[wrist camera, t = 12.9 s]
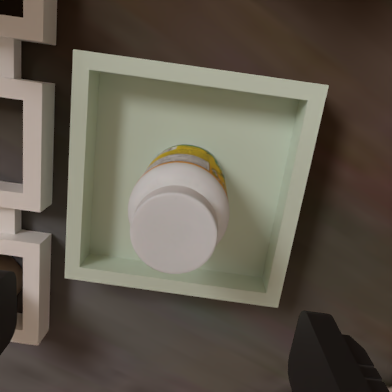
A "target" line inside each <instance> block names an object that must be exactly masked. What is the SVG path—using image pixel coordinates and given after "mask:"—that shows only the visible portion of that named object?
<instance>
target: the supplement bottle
mask: <svg viewBox="0 0 392 392" xmlns="http://www.w3.org/2000/svg"><path fill="white" fill-rule="evenodd" d="M229 214H230V211H229V201H228V196H227V189H226V184H225V177H224V174H223V170H222V168H221V166H220V164H219V163H218V161H217V159H216V158H215V157H214V156H213V155H212V154H211V153H210V152H209V151H208V150H206V149H204V148H202V147H200V146H197V145H193V144H178V145H173V146H170V147H168V148H166V149H165V150H163V151H162V152H160V153H159V154H158V155H157V156H156V157H155V158H154V160H153V161H152V162H151V163H150V165H149V166H148V168H147V169H146V171H145V172H144V173H143V175H142V176H141V177H140V179H139V180H138V182H137V183H136V185H135V186H134V188H133V190H132V193H131V195H130V198H129V203H128V219H129V223H130V239H131V243H132V246H133V248H134V250H135V252H136V254H137V255H138V256H139V258H140V259H141V260H142V261H143V262H144V263H145V264H147V265H148V266H149V267H151V268H153V269H155V270H157V271H159V272H163V273H168V274H182V273H187V272H191V271H193V270H195V269H197V268H199V267H201V266H202V265H203V264H204V263H205V262H207V261H208V259H209V258H210V257H211V255H212V254H213V252H214V250H215V247H216V245H217V244H218V243H219V242H220V240H221V239H222V237H223V236H224V234H225V232H226V229H227V226H228V222H229Z"/></svg>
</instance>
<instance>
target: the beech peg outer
mask: <svg viewBox="0 0 392 392" xmlns="http://www.w3.org/2000/svg"><path fill="white" fill-rule="evenodd" d="M0 270H6V271H12V272H14V273H15V275H16V279H17V295H18V293H19V292H20V291H21V289H22V287H23V271H22V269H21V267H20V265H19V264H18V263H17V262H16V260H14V259H13V258H12V257H11V256H9V255H3V254H0Z"/></svg>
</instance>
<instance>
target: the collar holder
mask: <svg viewBox="0 0 392 392" xmlns="http://www.w3.org/2000/svg"><path fill="white" fill-rule="evenodd" d="M56 28H57V0H23V18H22V17H15V16H7V15H0V97H4V98H11V99H18V100H23V184H19V183H11V182H4V181H0V254H3V255H10V256H18V257H23V313H17V324H16V329H15V332H14V335H13V337H12V339H11V341H10V342H16V343H23V344H30V345H37V346H38V345H39V344H40V342H41V341H42V339H43V338H44V336H45V335H46V333H47V332H48V330H49V310H50V270H51V233H44V232H37V231H30V230H22V229H21V210H26V211H33V212H42V211H43V210H44V209H46V208H47V207H48V206H50V205H51V204H52V189H53V149H54V109H55V83H48V82H41V81H34V80H27V79H21V41H27V42H34V43H41V44H48V45H55V46H56Z"/></svg>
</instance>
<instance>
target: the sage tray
mask: <svg viewBox="0 0 392 392" xmlns="http://www.w3.org/2000/svg"><path fill="white" fill-rule="evenodd" d="M328 87H329V85H323V84H316V83H309V82H301V81H294V80H287V79H280V78H273V77H266V76H259V75H252V74H245V73H238V72H231V71H224V70H217V69H210V68H203V67H196V66H188V65H181V64H174V63H167V62H160V61H153V60H146V59H139V58H132V57H125V56H118V55H111V54H104V53H97V52H90V51H83V50H76V49H73V62H72V89H71V116H70V143H69V170H68V197H67V224H66V251H65V278H67V279H74V280H81V281H88V282H96V283H103V284H110V285H117V286H124V287H131V288H139V289H146V290H153V291H160V292H167V293H174V294H182V295H189V296H196V297H203V298H210V299H217V300H225V301H232V302H239V303H246V304H253V305H260V306H267V307H275V308H278V305H279V301H280V296H281V292H282V288H283V283H284V279H285V275H286V270H287V266H288V261H289V257H290V253H291V248H292V244H293V240H294V235H295V231H296V226H297V222H298V218H299V213H300V209H301V205H302V200H303V196H304V192H305V187H306V183H307V178H308V174H309V170H310V165H311V161H312V157H313V152H314V148H315V143H316V139H317V135H318V130H319V126H320V122H321V117H322V113H323V108H324V104H325V100H326V95H327V91H328ZM178 144H193V145H197V146H200V147H202V148H204V149H206V150H208V151H209V152H210V153H211V154H212V155H213V156H214V157H215V158H216V159H217V161H218V163H219V164H220V166H221V168H222V170H223V174H224V177H225V184H226V189H227V196H228V201H229V211H230V214H229V222H228V226H227V229H226V232H225V234H224V236H223V237H222V239H221V240H220V242H219V243H218V244H217V245H216V247H215V250H214V252H213V254H212V255H211V257H210V258H209V259H208V261H207V262H205V263H204V264H203V265H202V266H201V267H199V268H197V269H195V270H193V271H191V272H187V273H182V274H168V273H163V272H159V271H157V270H155V269H153V268H151V267H149V266H148V265H147V264H145V263H144V262H143V261H142V260H141V259H140V258H139V256H138V255H137V254H136V252H135V250H134V248H133V246H132V243H131V239H130V223H129V219H128V203H129V198H130V195H131V193H132V190H133V188H134V186H135V185H136V183H137V182H138V180H139V179H140V177H141V176H142V175H143V173H144V172H145V171H146V169H147V168H148V166H149V165H150V163H151V162H152V161H153V160H154V158H155V157H156V156H157V155H158V154H159V153H160V152H162V151H163V150H165V149H166V148H168V147H170V146H173V145H178Z"/></svg>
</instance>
